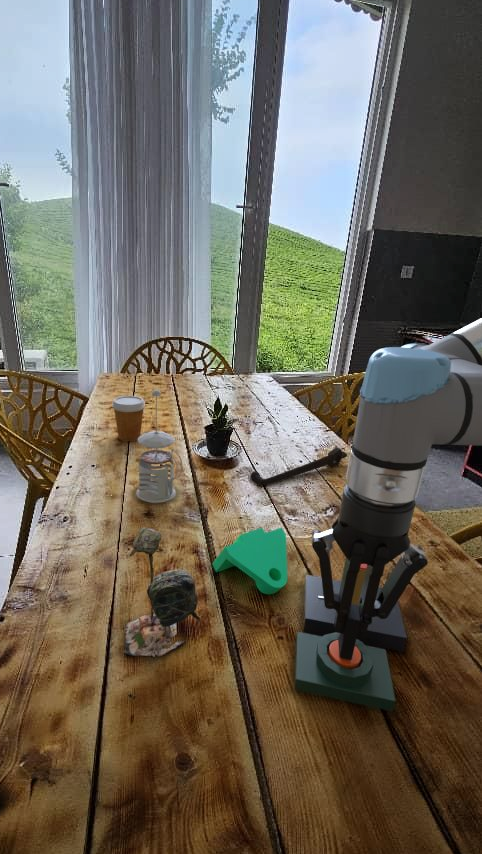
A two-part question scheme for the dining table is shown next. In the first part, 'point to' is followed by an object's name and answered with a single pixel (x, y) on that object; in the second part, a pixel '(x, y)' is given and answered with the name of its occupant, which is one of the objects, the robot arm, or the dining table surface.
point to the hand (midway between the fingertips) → (344, 650)
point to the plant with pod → (160, 603)
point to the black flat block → (322, 619)
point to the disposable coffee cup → (128, 416)
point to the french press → (162, 486)
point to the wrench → (303, 467)
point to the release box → (343, 673)
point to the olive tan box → (359, 584)
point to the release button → (343, 662)
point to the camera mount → (258, 558)
